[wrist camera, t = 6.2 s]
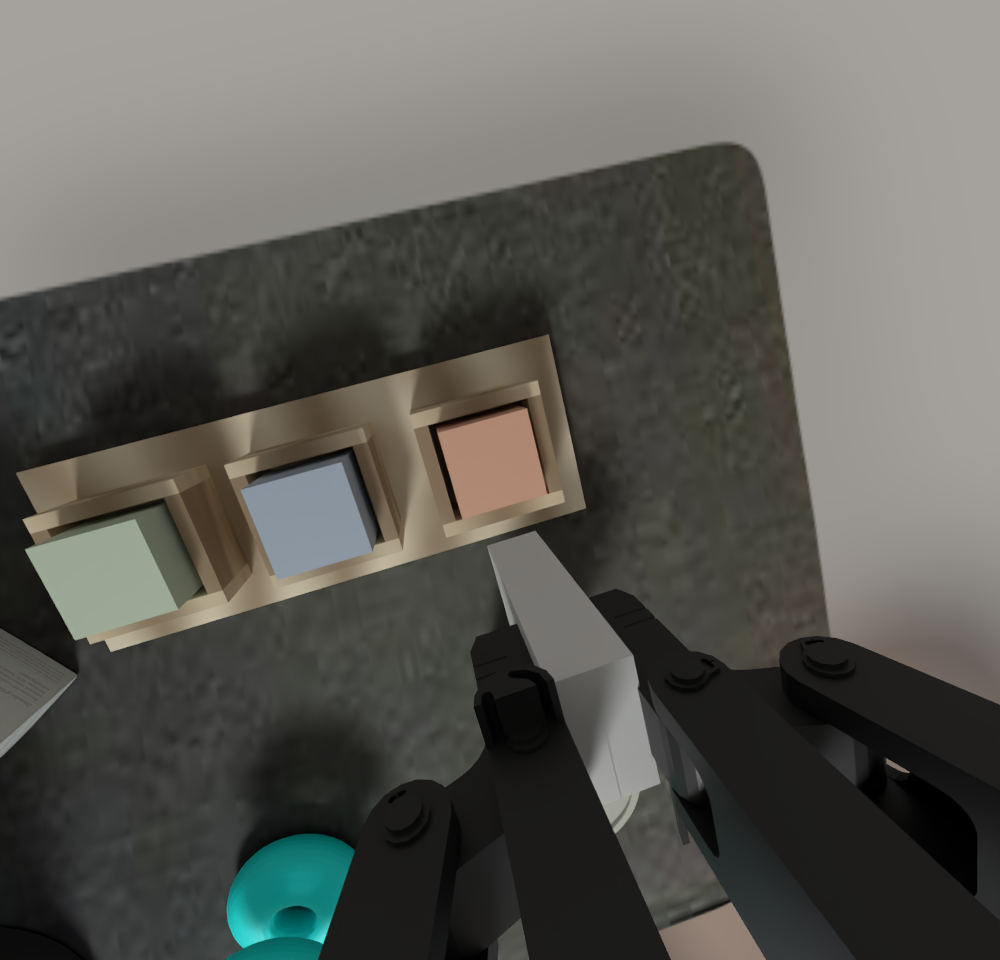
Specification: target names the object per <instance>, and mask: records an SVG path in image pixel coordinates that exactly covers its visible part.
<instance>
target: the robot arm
mask: <svg viewBox="0 0 1000 960" xmlns="http://www.w3.org/2000/svg"><path fill="white" fill-rule="evenodd" d="M487 547H488V550H489V554H490V557H491V561H492V564H493V568H494V571H495V575H496V578H497V582H498V586H499V589H500V593H501V596H502V600H503V603H504V607H505V610H506V614H507V617H508V621H509V624H510V626H508V627H505V628H502V629H499V630H496V631H493V632H490V633H487V634H484V635H481V636H477V637H476V639H475V642H474V644H473V647H472V649H471V652H470V653H471V657H472V662H473V667H474V672H475V677H476V681H477V687H478V691H477V692H476V694H475V698H474V710H475V713H476V716H477V719H478V722H479V725H480V728H481V731H482V735H483V738H484V741H485V747H484V750H483V752H482V754H481V755H480V757H479V759H478V760H477V761H476V763H475V764H474V765H473V766H472V767H471V769H469V770H468V771H467V772H466V773H465V774H463V775H462V776H461V777H460V778H458V779H457V780H455V781H454V782H453V783H451V784H450V785H448V786H447V787H445V788H444V786H442V785H441V784H439V783H437V782H435V781H433V780H414V781H411V782H408V783H405V784H402V785H400V786H398V787H397V788H395V789H394V790H392V791H391V792H389V793H388V794H386V795H385V796H384V797H383V798H382V799H381V800H380V801H379V803H378V804H377V805H376V806H375V807H374V808H373V809H372V811H371V812H370V814H369V816H368V818H367V820H366V822H365V824H364V826H363V829H362V831H361V834H360V837H359V840H358V843H357V846H356V849H355V852H354V855H353V858H352V861H351V864H350V867H349V870H348V873H347V875H346V878H345V881H344V884H343V887H342V890H341V893H340V896H339V899H338V902H337V905H336V908H335V911H334V914H333V917H332V919H331V922H330V925H329V928H328V931H327V934H326V937H325V940H324V943H323V946H322V949H321V952H320V955H319V958H318V960H497V958H498V939H497V938H499V937H500V936H501V935H502V934H503V933H504V932H505V931H506V930H507V929H509V928H510V927H511V926H512V925H513V924H514V923H515V922H516V921H517V920H519V919H520V918H521V920H522V925H523V930H524V935H525V940H526V945H527V950H528V955H529V960H671V959H670V957H669V955H668V952H667V950H666V948H665V946H664V943H663V941H662V939H661V937H660V934H659V932H658V930H657V927H656V925H655V923H654V921H653V918H652V916H651V914H650V912H649V909H648V907H647V905H646V903H645V900H644V898H643V896H642V894H641V891H640V889H639V887H638V885H637V882H636V880H635V878H634V876H633V873H632V871H631V869H630V867H629V864H628V862H627V860H626V857H625V855H624V853H623V851H622V848H621V846H620V844H619V842H618V839H617V837H616V835H615V833H614V830H613V828H612V826H611V824H610V821H609V819H608V817H607V815H606V812H605V810H604V808H603V805H606V804H608V803H611V802H613V801H616V800H619V799H621V798H624V797H626V796H629V795H631V794H634V793H637V792H639V791H642V790H644V789H647V788H650V787H652V786H655V785H657V784H660V780H659V775H658V771H657V766H656V762H657V764H658V765H659V767H660V769H661V770H662V772H663V773H664V775H665V776H666V778H667V780H668V781H669V786H670V791H671V796H672V800H673V805H674V810H675V815H676V820H677V825H678V830H679V833H680V836H681V839H682V842H683V845H685V844H688V843H690V842H689V837H688V832H687V829H688V830H689V832H690V834H691V835H692V837H693V839H694V840H695V842H696V844H697V845H698V847H699V849H700V850H701V852H702V854H703V855H704V857H705V859H706V860H707V862H708V864H709V865H710V867H711V869H712V870H713V872H714V874H715V875H716V877H717V879H718V880H719V882H720V884H721V885H722V887H723V889H724V890H725V892H726V894H727V895H728V897H729V899H730V900H731V902H732V904H733V905H734V907H735V908H736V910H737V912H738V913H739V915H740V917H741V919H742V920H743V922H744V924H745V925H746V927H747V929H748V930H749V932H750V933H751V935H752V937H753V939H754V940H755V942H756V944H757V945H758V947H759V948H760V950H761V952H762V953H763V955H764V957H765V958H766V960H1000V705H999V704H996V703H994V702H992V701H989V700H987V699H985V698H982V697H980V696H978V695H975V694H973V693H970V692H968V691H966V690H963V689H961V688H959V687H956V686H954V685H951V684H949V683H946V682H944V681H942V680H939V679H937V678H935V677H932V676H930V675H928V674H925V673H923V672H921V671H918V670H916V669H913V668H911V667H909V666H906V665H904V664H901V663H899V662H897V661H894V660H892V659H889V658H887V657H885V656H883V655H880V654H878V653H875V652H873V651H871V650H868V649H866V648H864V647H861V646H859V645H856V644H854V643H851V642H847V641H844V640H841V639H837V638H831V637H821V636H814V637H804V638H799V639H797V640H794V641H792V642H789V643H787V644H786V645H785V646H784V648H783V649H782V650H781V651H780V659H779V663H780V667H772V668H762V669H752V670H731V669H729V668H728V667H727V666H726V665H725V664H724V663H722V662H721V661H719V660H718V659H716V658H715V657H713V656H711V655H707V654H704V653H700V652H693V651H689V650H688V649H687V648H686V647H685V646H684V645H683V644H682V643H681V642H680V641H679V640H678V639H677V638H676V637H675V636H674V635H673V634H672V633H671V632H670V631H669V630H668V629H667V628H666V627H665V626H664V625H663V624H662V623H661V622H660V621H659V620H658V619H655V617H654V615H653V614H652V613H651V612H650V611H649V610H648V609H646V608H645V606H644V605H643V604H642V603H641V602H640V601H639V600H638V599H637V598H636V597H635V596H633V595H631V594H628V593H626V592H623V591H621V590H618V589H614V590H611V591H608V592H605V593H602V594H599V595H596V596H593V597H590V598H588V597H587V596H586V595H585V593H584V592H583V591H582V589H581V588H580V587H579V586H578V584H577V583H576V582H575V581H574V579H573V578H572V577H571V575H570V574H569V573H568V572H567V570H566V569H565V568H564V567H563V565H562V564H561V563H560V561H559V560H558V559H557V558H556V556H555V555H554V554H553V553H552V551H551V550H550V549H549V547H548V546H547V545H546V544H545V542H544V541H543V540H542V539H541V537H540V536H539V535H538V533H537V532H536V531H533V532H530V533H526V534H523V535H520V536H517V537H514V538H510V539H507V540H504V541H501V542H498V543H494V544H491V545H488V546H487ZM886 758H887V759H889V760H891V761H892V762H894V763H896V764H898V765H899V766H901V767H903V768H904V769H906V770H908V771H909V772H910V773H905V772H901V771H899V770H897V769H895V768H893V767H891V766H889V765H888V764H886ZM0 960H81V959H80V958H79V957H78V956H77V955H76V954H74V953H73V952H72V951H71V950H69V949H68V948H66V947H65V946H63V945H61V944H59V943H57V942H55V941H53V940H51V939H49V938H46V937H44V936H41V935H38V934H35V933H31V932H27V931H22V930H17V929H11V928H2V927H0Z"/></svg>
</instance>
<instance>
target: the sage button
mask: <svg viewBox="0 0 1000 960" xmlns="http://www.w3.org/2000/svg"><path fill="white" fill-rule="evenodd" d="M25 551H26V553H27V555H28V556H29V558H30V560H31V562H32V564H33V565H34V567H35V569H36V571H37V573H38V574H39V576H40V578H41V580H42V582H43V584H44V585H45V587H46V589H47V591H48V593H49V594H50V596H51V598H52V600H53V602H54V603H55V605H56V607H57V609H58V611H59V613H60V614H61V616H62V618H63V620H64V622H65V623H66V625H67V627H68V629H69V631H70V633H71V634H72V636H73V638H74V640H78V639H81V638H85V637H88V636H91V635H95V634H98V633H101V632H105V631H108V630H111V629H115V628H118V627H122V626H125V625H128V624H132V623H135V622H138V621H142V620H145V619H148V618H152V617H155V616H159V615H162V614H165V613H169V612H172V611H175V610H178V609H179V608H180V607H181V606H183V605H184V604H185V603H186V602H187V601H188V600H189V599H190V598H191V597H192V596H193V595H194V594H195V593H196V592H197V591H198V590H199V589H200V588H201V587H202V586H203V583H202V580H201V578H200V576H199V574H198V572H197V569H196V567H195V565H194V563H193V561H192V559H191V556H190V554H189V552H188V550H187V548H186V545H185V543H184V541H183V539H182V537H181V534H180V532H179V530H178V528H177V526H176V523H175V521H174V519H173V517H172V515H171V512H170V510H169V508H168V506H167V504H166V501H163V502H159V503H156V504H152V505H148V506H145V507H141V508H137V509H134V510H130V511H127V512H123V513H119V514H116V515H112V516H108V517H105V518H101V519H97V520H94V521H90V522H86V523H83V524H80V525H78V526H76V527H74V528H72V529H69V530H67V531H65V532H63V533H60V534H58V535H56V536H54V537H51V538H49V539H47V540H45V541H43V542H40V543H38V544H36V545H34V546H31V547H29V548H27V549H25Z"/></svg>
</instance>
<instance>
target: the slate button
mask: <svg viewBox="0 0 1000 960" xmlns="http://www.w3.org/2000/svg"><path fill="white" fill-rule="evenodd" d="M241 492H242V495H243V497H244V500H245V502H246V505H247V507H248V509H249V512H250V514H251V517H252V519H253V522H254V524H255V526H256V529H257V531H258V534H259V536H260V539H261V541H262V544H263V546H264V548H265V551H266V553H267V556H268V558H269V561H270V563H271V565H272V568H273V570H274V573H275V575H276V578H277V580H280V579H283V578H286V577H290V576H293V575H296V574H300V573H303V572H307V571H310V570H313V569H317V568H320V567H323V566H327V565H330V564H333V563H337V562H340V561H344V560H347V559H350V558H354V557H357V556H360V555H364V554H367V553H370V552H373V549H374V545H375V541H376V537H377V533H378V529H379V527H378V524H377V521H376V518H375V516H374V513H373V510H372V507H371V504H370V501H369V498H368V495H367V492H366V489H365V486H364V483H363V480H362V477H361V474H360V471H359V468H358V465H357V462H356V459H355V456H354V454H353V451H352V450H349V451H346V452H342V453H338V454H335V455H331V456H327V457H324V458H320V459H316V460H313V461H309V462H305V463H302V464H298V465H294V466H291V467H287V468H283V469H280V470H276V471H273V472H269V473H265V474H264V475H262V476H261V477H259V478H258V479H256V480H255V481H253V482H252V483H250V484H249V485H247V486H246V487H244V488H243V489H241Z"/></svg>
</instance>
